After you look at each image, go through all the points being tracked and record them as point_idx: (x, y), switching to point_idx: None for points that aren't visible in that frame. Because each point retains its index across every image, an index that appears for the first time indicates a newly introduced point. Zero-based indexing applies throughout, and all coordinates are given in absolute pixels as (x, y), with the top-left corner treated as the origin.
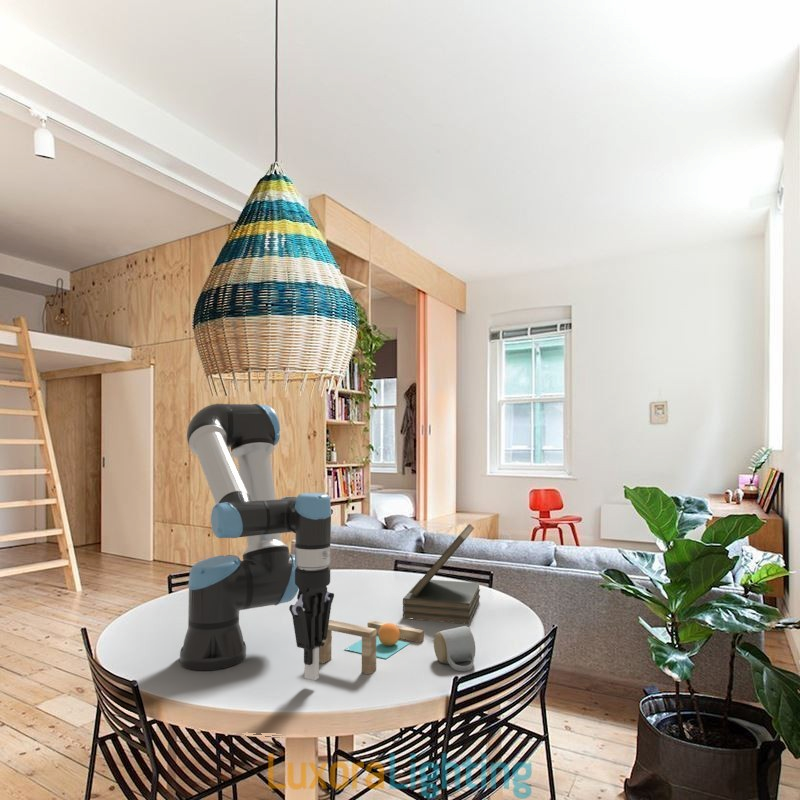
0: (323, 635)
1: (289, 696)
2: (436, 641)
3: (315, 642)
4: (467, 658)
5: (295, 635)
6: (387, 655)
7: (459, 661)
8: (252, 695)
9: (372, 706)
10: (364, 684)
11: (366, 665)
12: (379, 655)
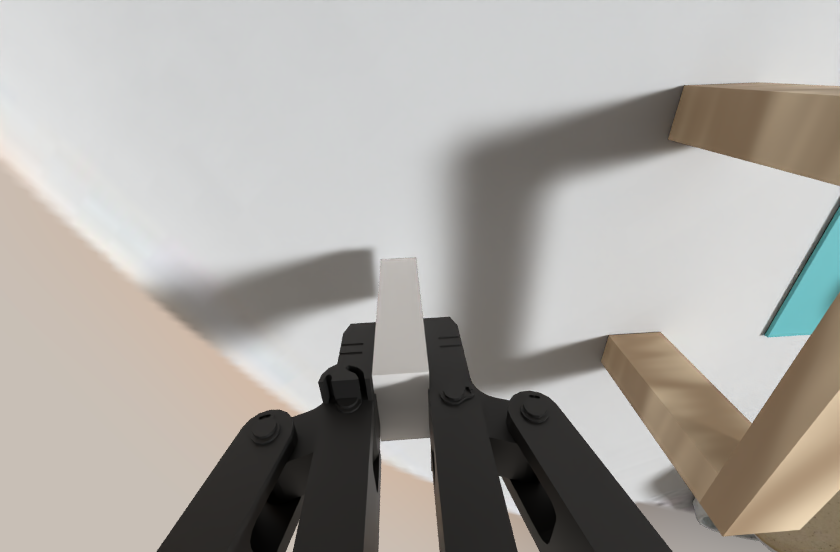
0: (509, 490)
1: (270, 248)
2: (826, 510)
3: (432, 439)
4: None
5: (163, 544)
6: (802, 327)
7: None
8: (126, 79)
9: (396, 464)
10: (517, 388)
11: (621, 375)
12: (801, 304)
